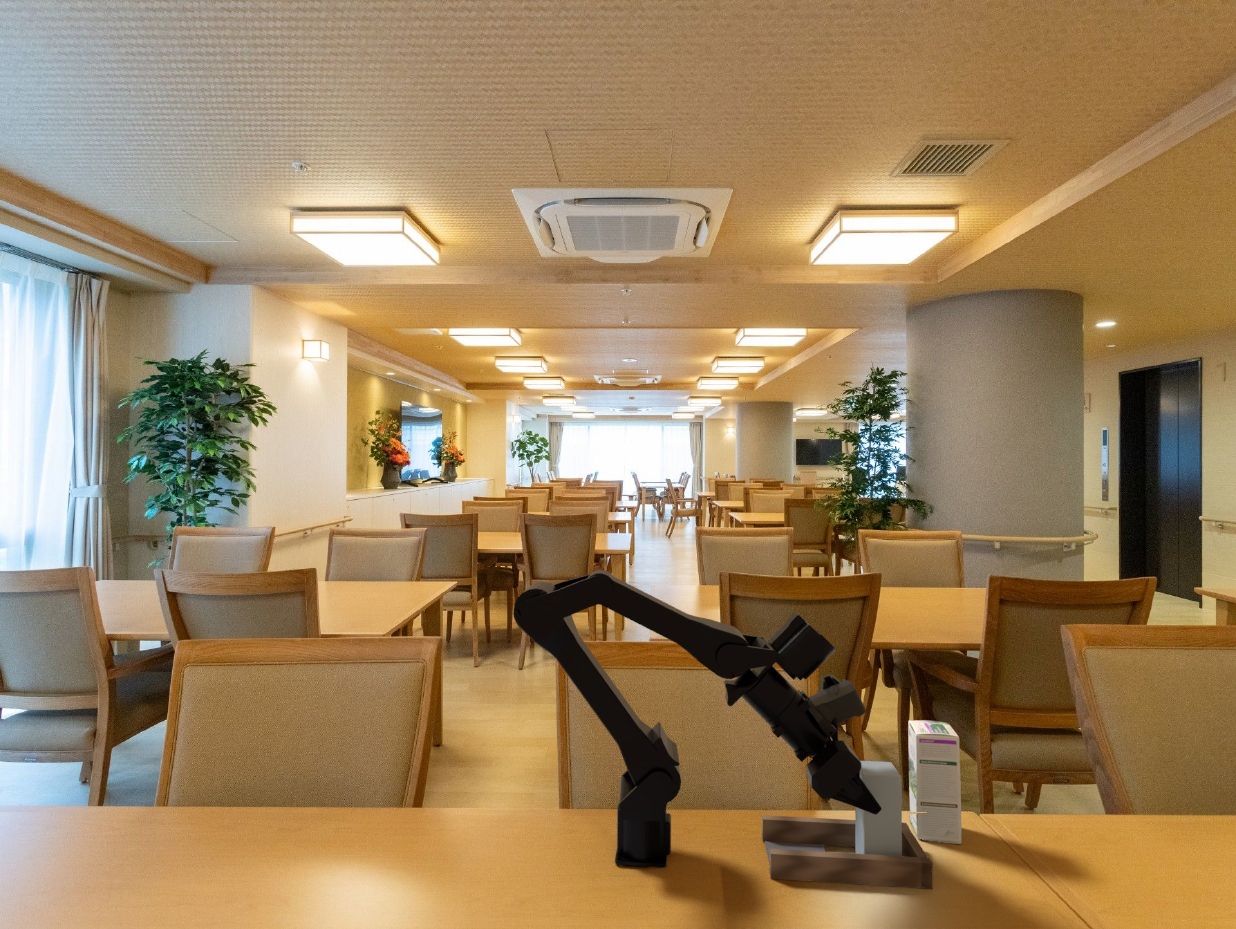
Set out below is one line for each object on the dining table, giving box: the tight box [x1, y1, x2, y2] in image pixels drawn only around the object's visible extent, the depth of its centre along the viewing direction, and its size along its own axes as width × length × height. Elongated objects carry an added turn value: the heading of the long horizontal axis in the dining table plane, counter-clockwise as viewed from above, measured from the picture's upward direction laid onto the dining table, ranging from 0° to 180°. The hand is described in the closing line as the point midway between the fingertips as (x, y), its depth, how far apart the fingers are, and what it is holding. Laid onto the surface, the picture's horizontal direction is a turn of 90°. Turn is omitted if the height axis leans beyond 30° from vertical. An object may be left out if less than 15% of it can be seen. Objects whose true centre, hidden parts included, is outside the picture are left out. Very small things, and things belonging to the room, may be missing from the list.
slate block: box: [854, 760, 903, 856], centre depth 88 cm, size 4×4×12 cm
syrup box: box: [907, 719, 963, 845], centre depth 96 cm, size 6×6×14 cm
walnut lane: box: [761, 814, 934, 890], centre depth 88 cm, size 19×10×3 cm, turn 85°
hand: (868, 794), depth 88 cm, fingers open, 9 cm apart
